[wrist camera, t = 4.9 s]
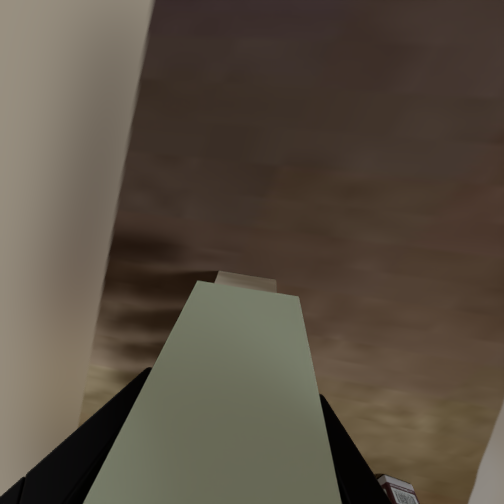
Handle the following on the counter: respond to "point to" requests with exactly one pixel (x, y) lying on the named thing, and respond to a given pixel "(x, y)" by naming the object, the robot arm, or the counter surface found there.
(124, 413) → the robot arm
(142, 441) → the domino
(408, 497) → the supplement box
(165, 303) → the counter surface
